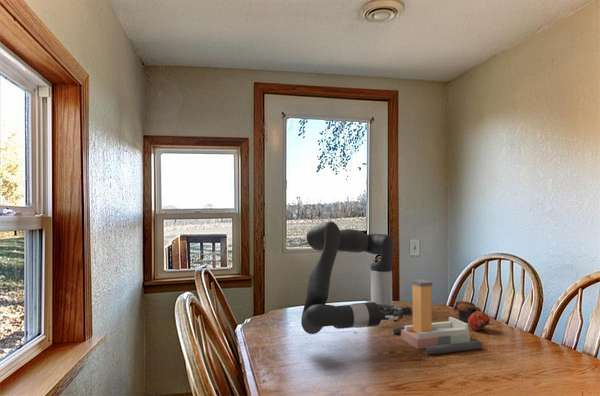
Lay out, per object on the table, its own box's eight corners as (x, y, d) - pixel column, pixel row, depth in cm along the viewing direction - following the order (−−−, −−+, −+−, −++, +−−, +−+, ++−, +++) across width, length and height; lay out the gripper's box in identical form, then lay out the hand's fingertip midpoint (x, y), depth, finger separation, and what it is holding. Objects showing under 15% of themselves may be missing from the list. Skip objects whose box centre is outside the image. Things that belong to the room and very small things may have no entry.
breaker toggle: (421, 335, 126) (420, 283, 126) (411, 330, 131) (411, 279, 131) (432, 334, 127) (432, 282, 127) (423, 329, 132) (422, 279, 132)
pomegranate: (492, 336, 141) (473, 314, 148) (501, 324, 137) (481, 302, 144) (477, 341, 138) (459, 319, 145) (486, 329, 134) (467, 306, 141)
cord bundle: (394, 335, 136) (394, 328, 136) (391, 332, 138) (391, 326, 138) (443, 329, 142) (443, 323, 142) (439, 327, 144) (439, 321, 144)
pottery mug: (447, 320, 155) (449, 300, 159) (462, 327, 159) (463, 308, 163) (474, 319, 146) (475, 298, 149) (489, 327, 149) (489, 306, 153)
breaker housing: (417, 349, 123) (417, 330, 123) (401, 338, 132) (400, 321, 132) (469, 342, 128) (469, 324, 128) (450, 333, 138) (450, 316, 138)
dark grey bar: (428, 356, 117) (428, 348, 117) (424, 353, 119) (424, 345, 119) (484, 349, 122) (484, 341, 122) (478, 346, 125) (478, 339, 125)
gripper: (372, 308, 117) (421, 304, 122) (354, 298, 130) (399, 294, 134) (372, 333, 117) (421, 327, 121) (354, 320, 129) (399, 316, 134)
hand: (410, 310), depth 128 cm, fingers closed
